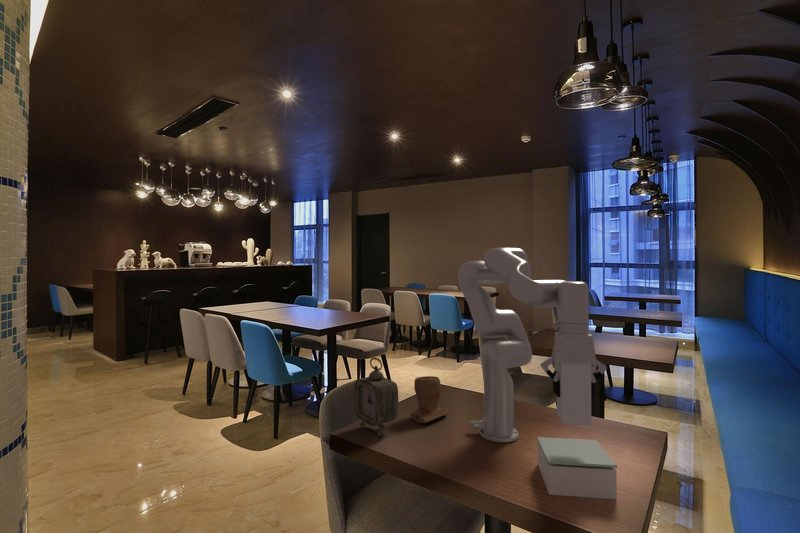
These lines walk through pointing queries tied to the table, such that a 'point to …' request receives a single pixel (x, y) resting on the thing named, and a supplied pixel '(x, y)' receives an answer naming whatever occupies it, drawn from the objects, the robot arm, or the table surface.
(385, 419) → the tabletop clock
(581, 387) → the milk carton
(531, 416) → the table surface
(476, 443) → the table surface
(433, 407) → the brown upright piece
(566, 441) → the box lid
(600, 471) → the pastry box
